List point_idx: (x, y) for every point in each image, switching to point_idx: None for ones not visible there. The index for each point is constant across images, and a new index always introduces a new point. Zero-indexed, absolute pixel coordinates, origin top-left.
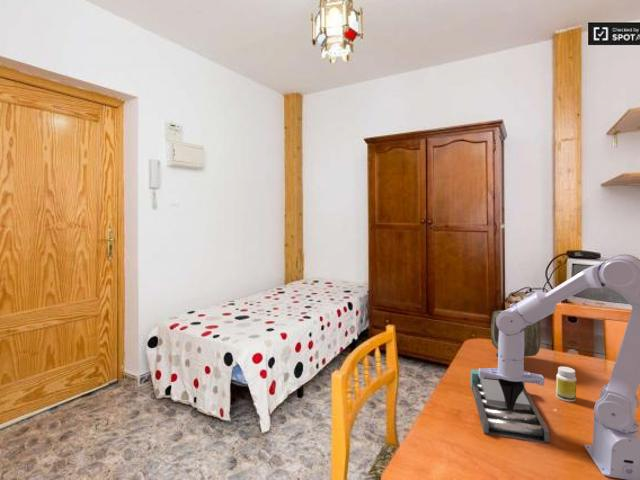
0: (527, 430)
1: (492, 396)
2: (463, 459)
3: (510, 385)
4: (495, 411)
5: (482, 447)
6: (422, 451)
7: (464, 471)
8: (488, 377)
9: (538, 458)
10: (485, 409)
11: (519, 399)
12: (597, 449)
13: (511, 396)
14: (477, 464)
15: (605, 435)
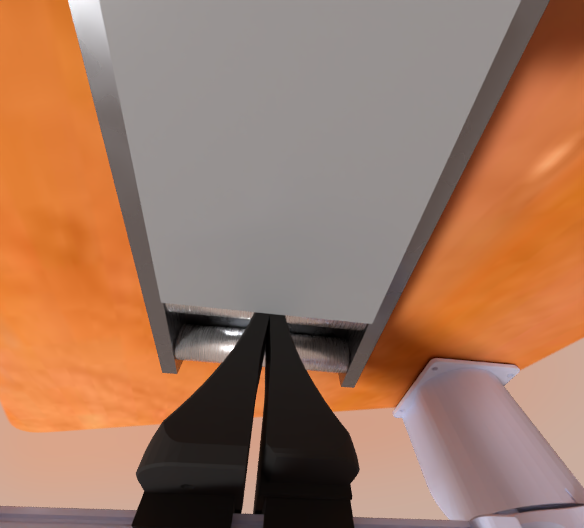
0: None
1: (193, 273)
2: (134, 404)
3: (243, 496)
4: (210, 314)
5: (173, 377)
6: (43, 397)
7: (140, 421)
8: (46, 521)
9: None
10: (168, 309)
11: (344, 285)
12: (426, 422)
13: (265, 395)
14: (163, 410)
15: (452, 497)
